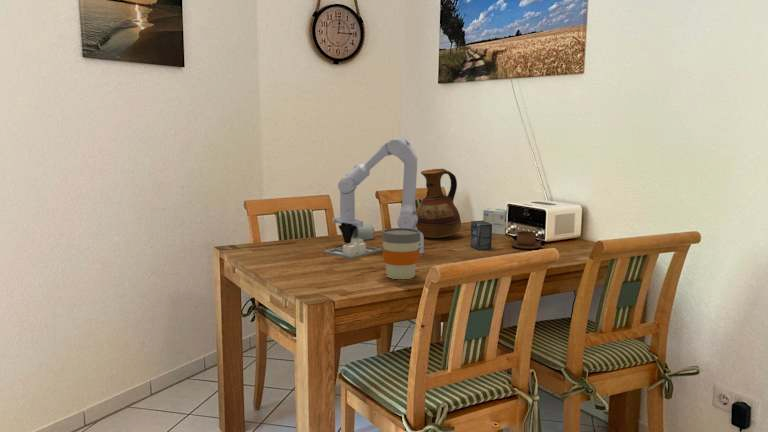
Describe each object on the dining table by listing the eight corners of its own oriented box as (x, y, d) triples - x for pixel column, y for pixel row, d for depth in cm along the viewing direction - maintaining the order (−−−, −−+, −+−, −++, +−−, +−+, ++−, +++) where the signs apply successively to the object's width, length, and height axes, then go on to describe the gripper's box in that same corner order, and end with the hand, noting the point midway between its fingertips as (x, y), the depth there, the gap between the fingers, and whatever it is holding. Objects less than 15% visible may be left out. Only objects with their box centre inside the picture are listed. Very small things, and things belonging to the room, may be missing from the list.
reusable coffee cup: (397, 269, 203) (397, 226, 201) (427, 276, 196) (428, 230, 193) (373, 277, 194) (373, 231, 191) (404, 283, 186) (404, 236, 184)
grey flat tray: (382, 253, 229) (382, 248, 229) (350, 261, 215) (350, 256, 215) (355, 248, 238) (355, 243, 237) (323, 255, 224) (323, 251, 224)
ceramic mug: (375, 241, 250) (375, 224, 249) (358, 243, 247) (358, 225, 246) (364, 238, 259) (364, 221, 258) (348, 239, 256) (348, 222, 255)
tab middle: (365, 252, 224) (365, 241, 223) (360, 253, 222) (360, 243, 221) (357, 251, 227) (357, 240, 226) (352, 252, 224) (352, 241, 224)
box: (470, 246, 242) (470, 220, 240) (482, 246, 244) (483, 220, 242) (478, 250, 235) (479, 224, 233) (491, 249, 236) (492, 223, 235)
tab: (355, 255, 220) (355, 244, 219) (350, 256, 218) (350, 245, 217) (347, 253, 222) (347, 242, 222) (342, 254, 220) (342, 243, 220)
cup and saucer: (536, 244, 248) (536, 230, 247) (544, 251, 236) (545, 235, 235) (507, 244, 247) (507, 230, 246) (514, 251, 235) (515, 235, 234)
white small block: (363, 248, 232) (363, 237, 231) (358, 249, 230) (358, 238, 229) (355, 246, 235) (355, 236, 234) (351, 247, 232) (351, 237, 232)
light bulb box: (509, 233, 273) (510, 209, 271) (504, 235, 267) (505, 211, 265) (487, 230, 278) (488, 207, 277) (482, 232, 273) (482, 209, 271)
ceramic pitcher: (407, 234, 268) (407, 167, 263) (445, 231, 276) (447, 166, 271) (428, 242, 250) (429, 170, 245) (469, 238, 259) (471, 169, 254)
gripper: (326, 207, 235) (327, 241, 237) (354, 211, 226) (354, 246, 228) (339, 206, 240) (339, 239, 242) (366, 209, 231) (366, 244, 233)
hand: (347, 242), depth 235 cm, fingers closed
